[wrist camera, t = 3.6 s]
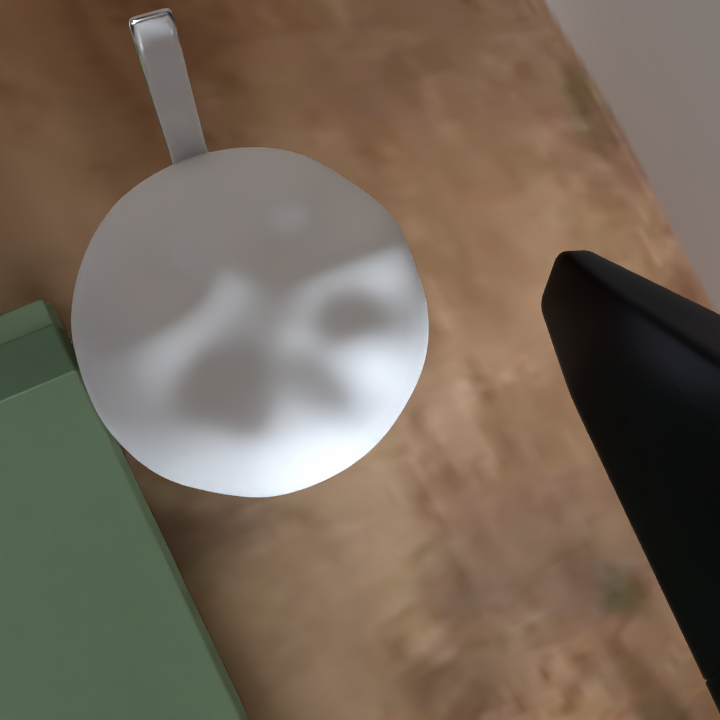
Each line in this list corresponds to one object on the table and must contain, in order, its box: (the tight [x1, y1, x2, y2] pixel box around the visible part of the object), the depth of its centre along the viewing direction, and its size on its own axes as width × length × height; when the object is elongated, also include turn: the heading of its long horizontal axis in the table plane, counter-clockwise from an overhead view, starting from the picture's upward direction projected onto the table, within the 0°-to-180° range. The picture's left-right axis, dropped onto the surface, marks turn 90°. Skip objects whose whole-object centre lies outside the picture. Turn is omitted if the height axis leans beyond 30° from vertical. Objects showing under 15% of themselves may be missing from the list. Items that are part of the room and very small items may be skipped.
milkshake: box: [71, 8, 429, 497], centre depth 11 cm, size 4×5×10 cm
